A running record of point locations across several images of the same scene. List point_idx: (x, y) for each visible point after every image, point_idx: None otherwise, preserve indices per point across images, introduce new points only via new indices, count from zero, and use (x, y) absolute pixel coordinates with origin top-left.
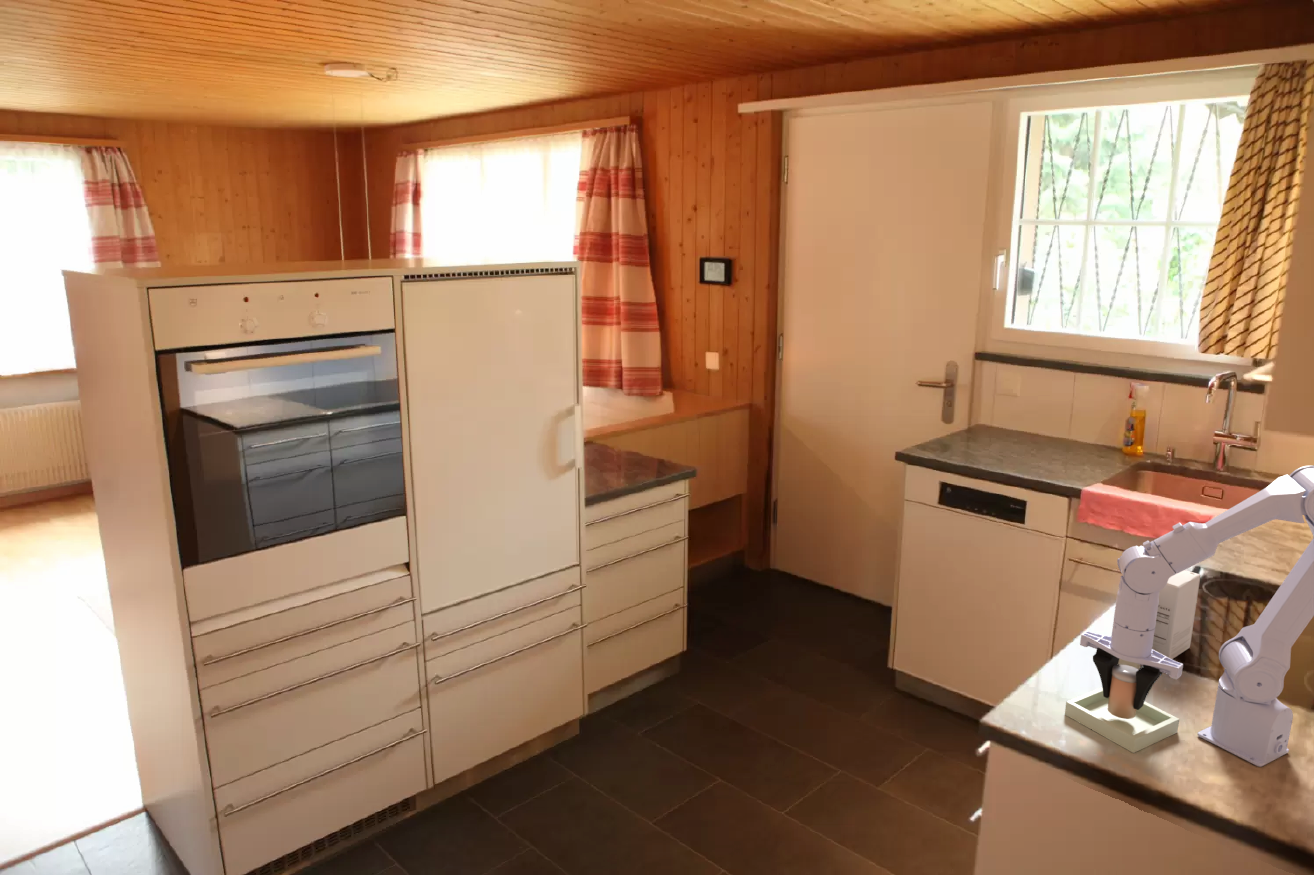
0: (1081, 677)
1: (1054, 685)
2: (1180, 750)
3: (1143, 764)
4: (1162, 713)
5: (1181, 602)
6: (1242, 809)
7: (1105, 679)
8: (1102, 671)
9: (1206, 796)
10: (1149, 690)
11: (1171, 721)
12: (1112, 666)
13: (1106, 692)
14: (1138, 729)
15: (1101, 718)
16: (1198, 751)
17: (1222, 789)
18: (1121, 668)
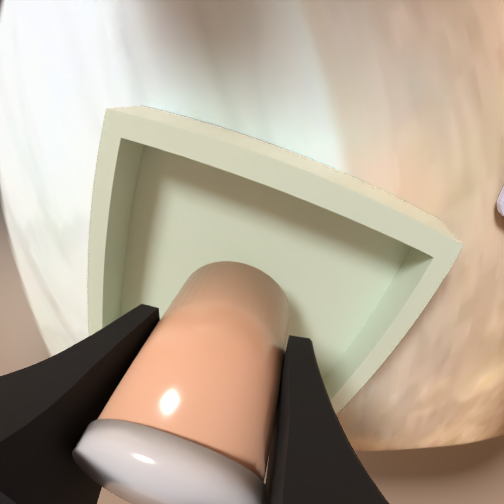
0: (46, 53)
1: (23, 173)
2: (440, 322)
3: (346, 417)
4: (396, 239)
5: None
6: (498, 420)
7: None
8: None
9: (454, 428)
10: (332, 408)
11: (432, 287)
12: (77, 466)
13: None
14: (314, 313)
15: None
16: (485, 296)
17: (489, 398)
18: (117, 480)
